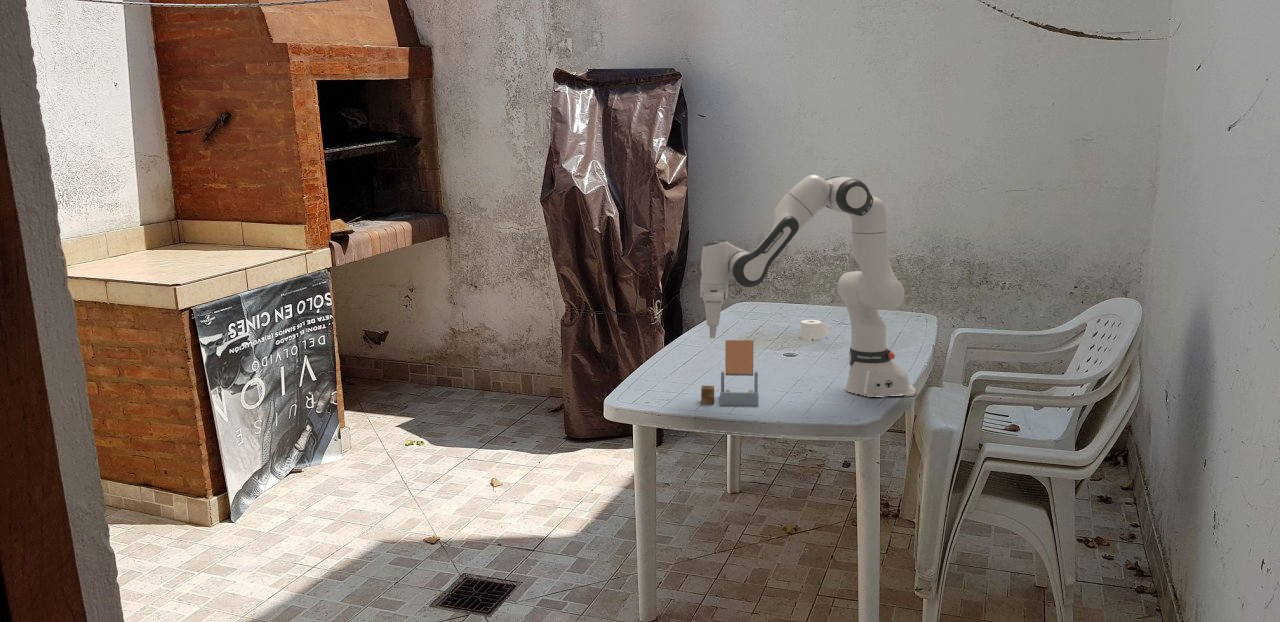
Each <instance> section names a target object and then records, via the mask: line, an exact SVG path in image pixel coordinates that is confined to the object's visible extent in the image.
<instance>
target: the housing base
mask: <svg viewBox="0 0 1280 622" xmlns="http://www.w3.org/2000/svg"><path fill="white" fill-rule="evenodd" d="M758 373H759V372H758V371H754V380H753V381H754V386H753V387H754V389H752V388H751V389H750V388H749V389H748V391H731V389H729V388H726V389H725V370H724V371H723V370H722V371H721V372H720V392H719V396H720V397H719V405H720V406H748V407H749V406H750V407H751V406H752V407H753V406H759V391H758V389H759V387H758V386H759V384H758V383H759V382H758V380H759V379H758V377H759V375H758Z"/></svg>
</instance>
